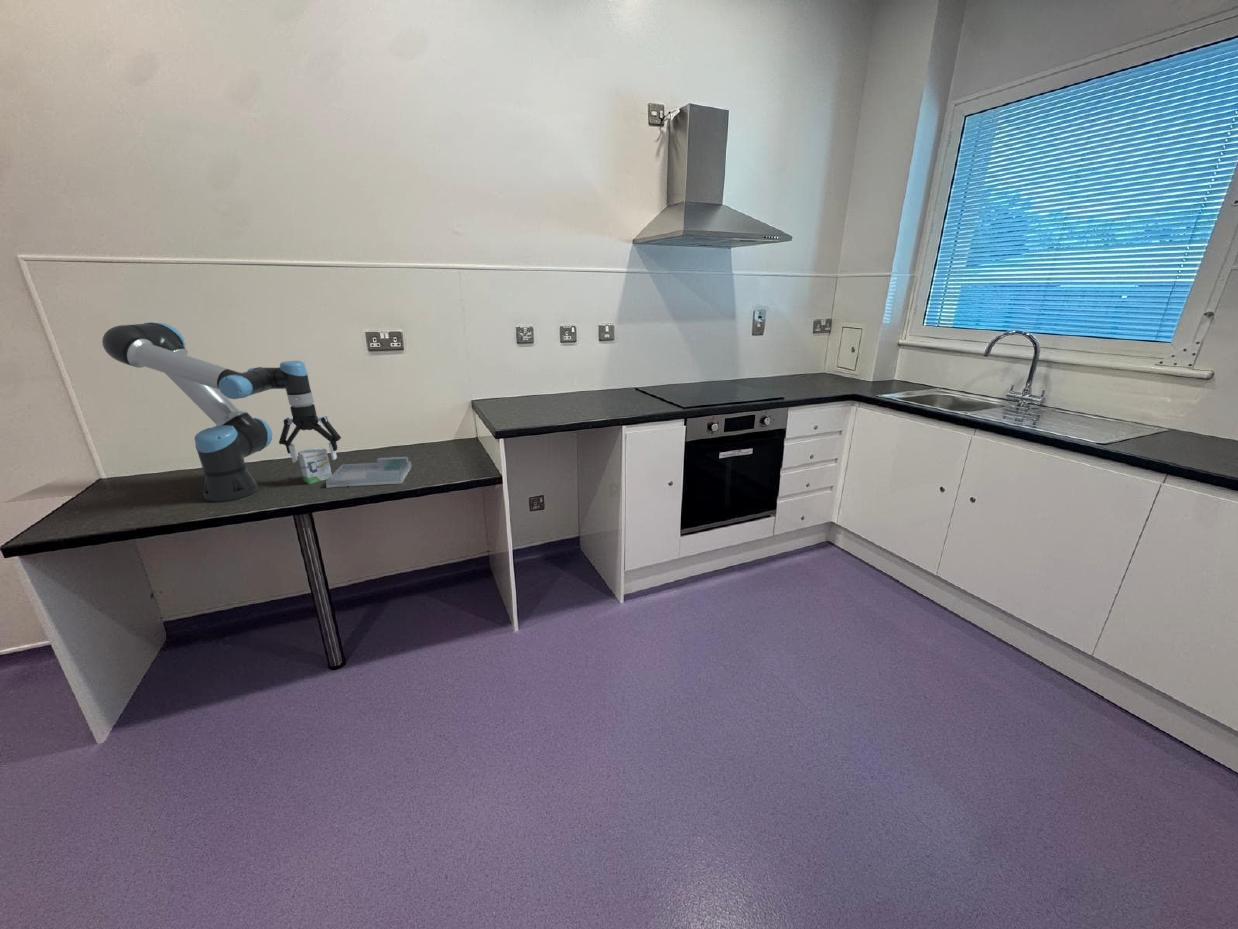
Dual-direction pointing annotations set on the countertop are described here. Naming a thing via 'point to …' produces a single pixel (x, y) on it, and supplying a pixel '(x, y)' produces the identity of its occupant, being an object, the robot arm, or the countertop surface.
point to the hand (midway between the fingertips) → (315, 460)
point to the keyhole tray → (371, 473)
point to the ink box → (314, 465)
